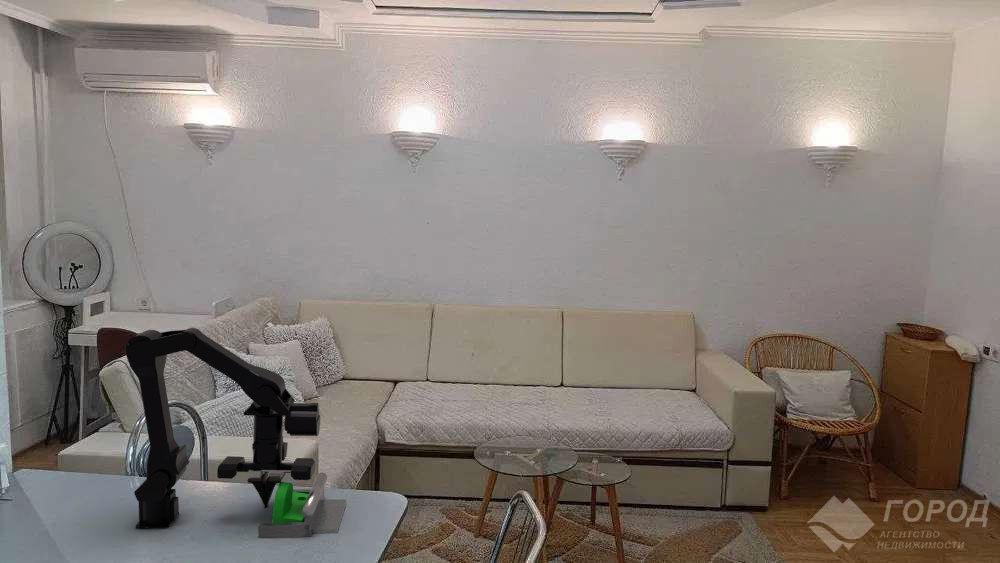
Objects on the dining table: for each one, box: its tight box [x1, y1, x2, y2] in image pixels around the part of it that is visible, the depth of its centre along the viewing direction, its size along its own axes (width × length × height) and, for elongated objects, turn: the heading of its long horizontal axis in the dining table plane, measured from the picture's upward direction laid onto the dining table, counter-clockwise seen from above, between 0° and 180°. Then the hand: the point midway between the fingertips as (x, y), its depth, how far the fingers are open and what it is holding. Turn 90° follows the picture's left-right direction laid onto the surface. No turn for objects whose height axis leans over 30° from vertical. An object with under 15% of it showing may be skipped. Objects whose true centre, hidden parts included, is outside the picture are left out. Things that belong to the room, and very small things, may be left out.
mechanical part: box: [271, 481, 309, 523], centre depth 148 cm, size 12×6×8 cm, turn 178°
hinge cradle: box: [257, 472, 347, 539], centre depth 147 cm, size 15×17×6 cm
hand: (266, 507), depth 146 cm, fingers closed
